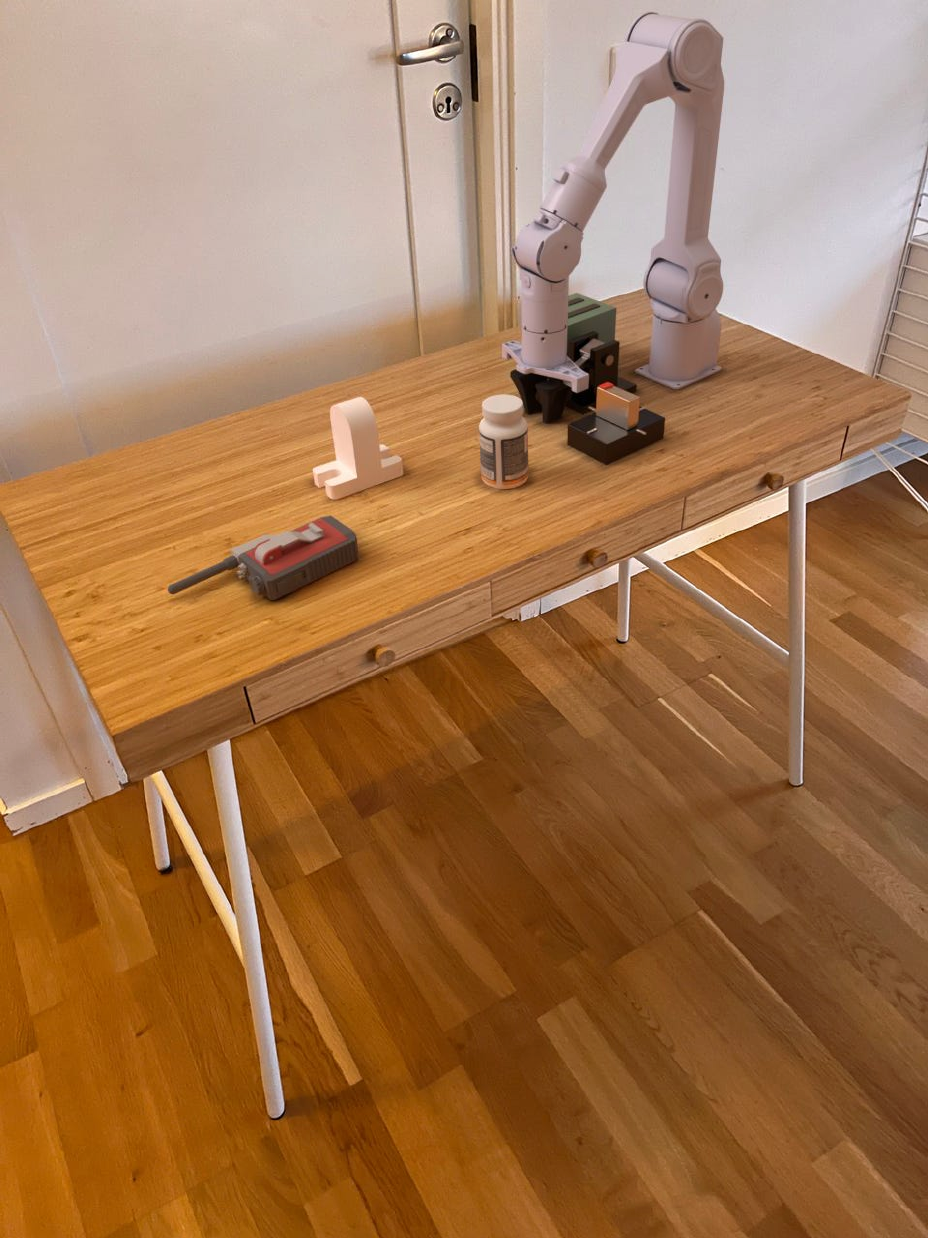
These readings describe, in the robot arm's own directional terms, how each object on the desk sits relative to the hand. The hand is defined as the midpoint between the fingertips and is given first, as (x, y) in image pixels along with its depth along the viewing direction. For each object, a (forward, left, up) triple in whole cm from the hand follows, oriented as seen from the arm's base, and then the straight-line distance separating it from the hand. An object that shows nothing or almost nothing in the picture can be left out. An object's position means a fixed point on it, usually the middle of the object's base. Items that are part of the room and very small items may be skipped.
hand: (543, 424), depth 128 cm
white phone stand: (+27, -3, +1) cm, 27 cm away
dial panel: (-2, +12, +1) cm, 12 cm away
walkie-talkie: (+45, +8, +1) cm, 46 cm away
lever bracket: (-9, 0, +1) cm, 9 cm away
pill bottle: (+14, +9, +1) cm, 17 cm away
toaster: (-12, -8, +1) cm, 15 cm away
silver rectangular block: (-2, +11, +4) cm, 12 cm away
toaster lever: (-5, 0, +4) cm, 7 cm away
